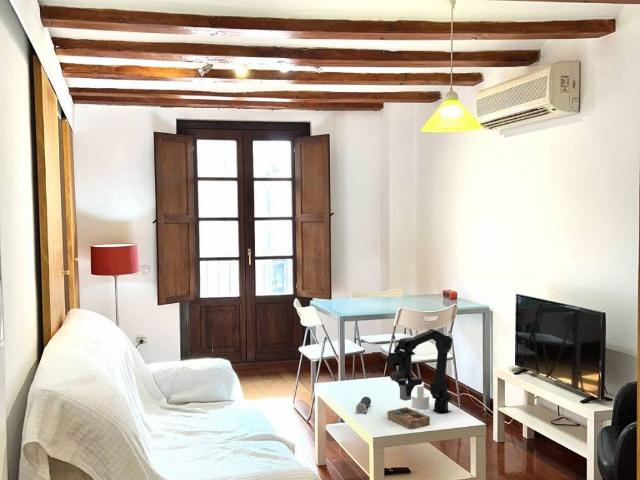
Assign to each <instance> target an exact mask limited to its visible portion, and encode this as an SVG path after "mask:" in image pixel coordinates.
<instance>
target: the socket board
mask: <svg viewBox="0 0 640 480" xmlns="http://www.w3.org/2000/svg"><path fill="white" fill-rule="evenodd" d="M430 417H431V416H429V415H426V414H424V413H422V412H419V411H416V410H415V409H412V408H409V407H400V408H395V409H390V410H387V420H389V421H391V422H394V423H396V424H398V425H399V426H402V427H404V428H406V429H409V430H414V429H418V428H423V427H426V426H430V425H431V418H430Z"/></svg>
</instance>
